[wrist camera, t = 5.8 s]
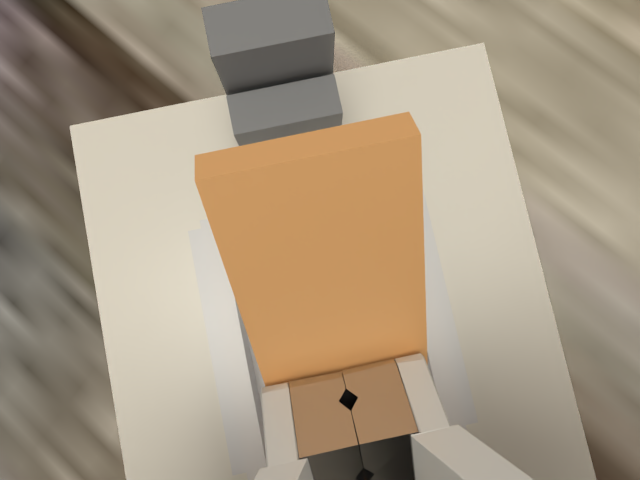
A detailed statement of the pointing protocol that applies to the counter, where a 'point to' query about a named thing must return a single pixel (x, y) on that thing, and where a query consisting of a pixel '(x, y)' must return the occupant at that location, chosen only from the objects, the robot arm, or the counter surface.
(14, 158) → the counter surface
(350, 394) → the robot arm
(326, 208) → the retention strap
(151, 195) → the socket board
